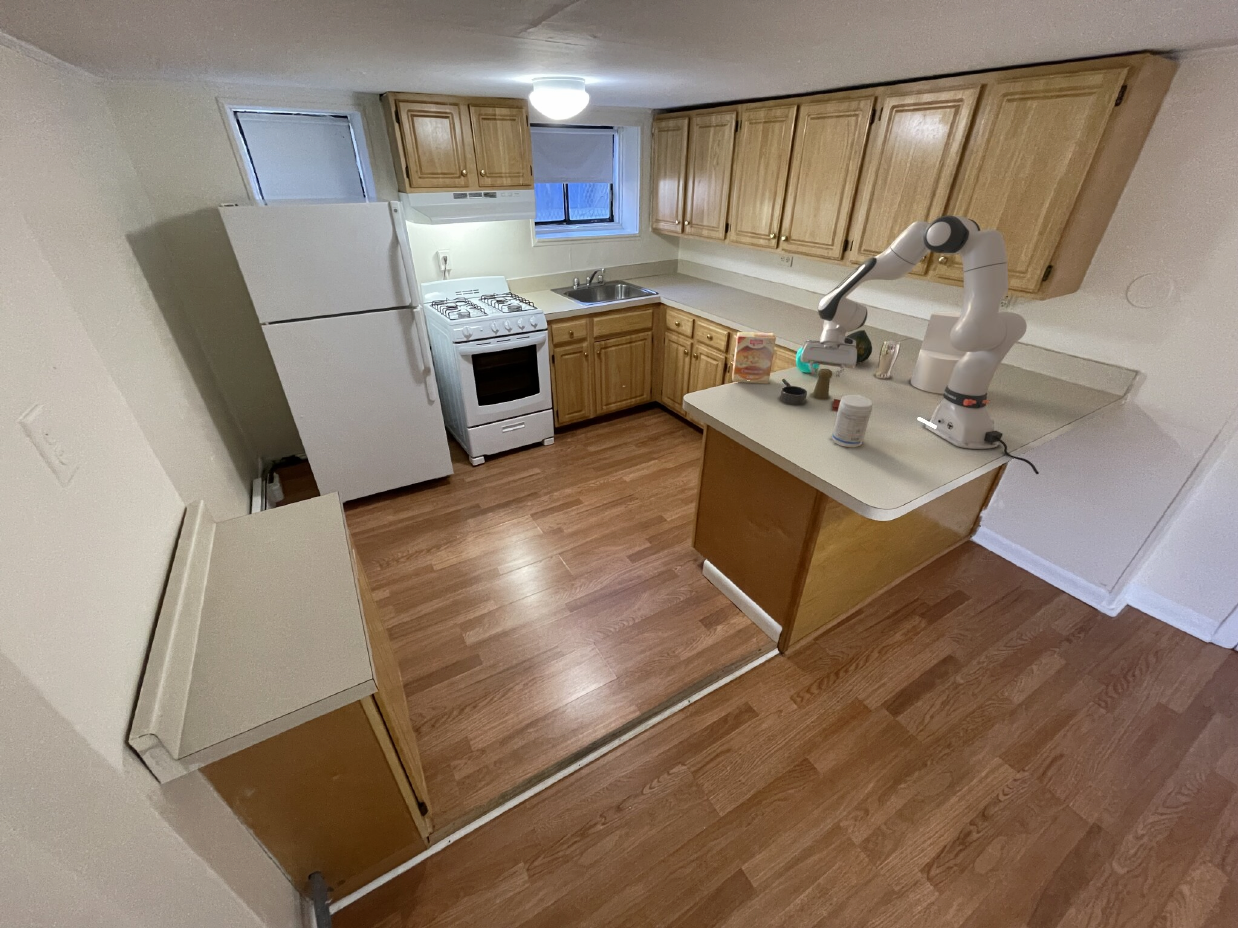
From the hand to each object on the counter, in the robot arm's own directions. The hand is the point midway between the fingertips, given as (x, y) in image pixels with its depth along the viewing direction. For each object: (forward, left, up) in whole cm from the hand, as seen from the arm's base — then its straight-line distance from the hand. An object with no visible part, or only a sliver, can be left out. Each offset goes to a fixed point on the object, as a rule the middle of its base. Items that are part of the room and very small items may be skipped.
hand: (825, 374), depth 196 cm
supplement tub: (-38, +6, -9) cm, 40 cm away
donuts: (+29, -5, -9) cm, 31 cm away
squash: (+39, -30, -9) cm, 50 cm away
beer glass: (+19, -35, -9) cm, 40 cm away
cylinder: (+8, -51, -9) cm, 52 cm away
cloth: (-12, -4, -9) cm, 15 cm away
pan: (-4, +13, -9) cm, 16 cm away
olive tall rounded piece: (-1, 0, -9) cm, 9 cm away
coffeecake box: (+18, +23, -9) cm, 31 cm away
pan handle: (+5, +13, -6) cm, 15 cm away
